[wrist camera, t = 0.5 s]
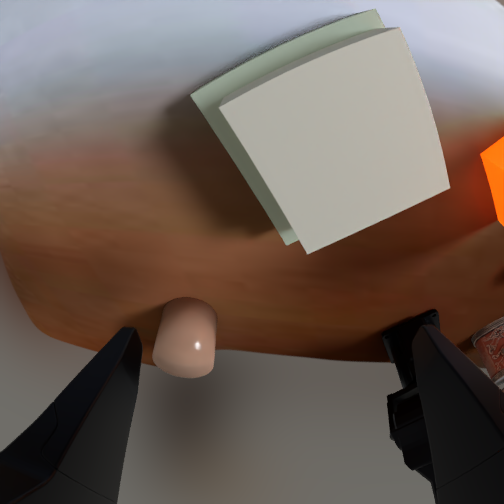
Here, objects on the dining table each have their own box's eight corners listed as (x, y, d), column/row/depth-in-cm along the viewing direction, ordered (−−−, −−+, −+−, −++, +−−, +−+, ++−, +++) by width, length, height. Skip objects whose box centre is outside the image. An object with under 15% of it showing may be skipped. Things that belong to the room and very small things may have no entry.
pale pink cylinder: (227, 324, 29) (225, 369, 25) (185, 339, 30) (178, 382, 26) (195, 289, 26) (188, 336, 22) (152, 308, 28) (139, 353, 24)
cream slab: (426, 166, 17) (450, 188, 15) (299, 225, 20) (307, 254, 17) (375, 28, 12) (399, 27, 10) (223, 97, 15) (218, 107, 13)
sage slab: (416, 158, 20) (436, 175, 18) (282, 221, 23) (286, 245, 21) (357, 12, 14) (375, 8, 12) (198, 88, 17) (189, 95, 15)
